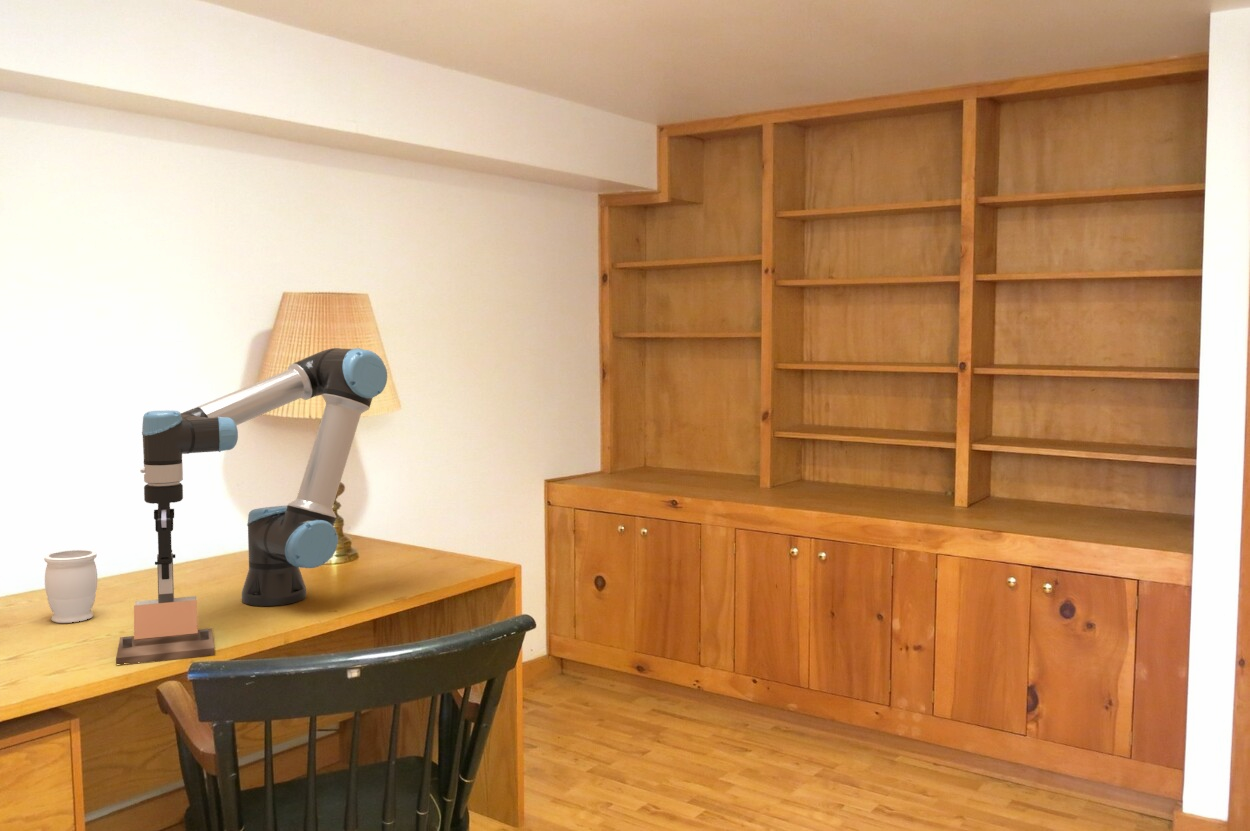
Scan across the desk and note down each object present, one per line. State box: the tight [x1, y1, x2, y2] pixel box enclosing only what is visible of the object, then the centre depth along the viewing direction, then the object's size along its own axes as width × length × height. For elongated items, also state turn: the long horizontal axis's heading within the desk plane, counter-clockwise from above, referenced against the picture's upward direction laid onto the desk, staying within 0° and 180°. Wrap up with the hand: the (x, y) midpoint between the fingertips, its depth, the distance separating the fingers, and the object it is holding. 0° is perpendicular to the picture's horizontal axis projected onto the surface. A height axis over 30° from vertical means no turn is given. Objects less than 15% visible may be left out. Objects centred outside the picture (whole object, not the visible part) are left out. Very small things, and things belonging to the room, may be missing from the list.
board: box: [115, 628, 215, 665], centre depth 211 cm, size 18×15×3 cm
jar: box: [43, 549, 98, 624], centre depth 232 cm, size 11×10×15 cm
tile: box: [133, 599, 199, 641], centre depth 212 cm, size 12×7×1 cm
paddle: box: [134, 552, 197, 605], centre depth 218 cm, size 12×4×13 cm, turn 113°
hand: (166, 591), depth 218 cm, fingers closed on paddle, 3 cm apart
